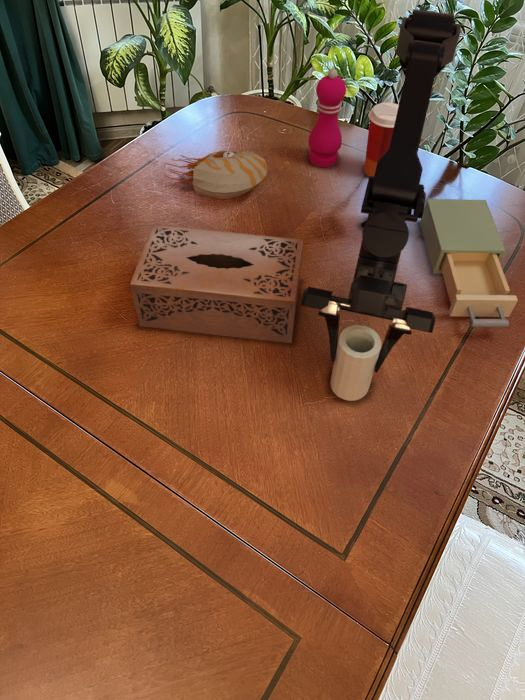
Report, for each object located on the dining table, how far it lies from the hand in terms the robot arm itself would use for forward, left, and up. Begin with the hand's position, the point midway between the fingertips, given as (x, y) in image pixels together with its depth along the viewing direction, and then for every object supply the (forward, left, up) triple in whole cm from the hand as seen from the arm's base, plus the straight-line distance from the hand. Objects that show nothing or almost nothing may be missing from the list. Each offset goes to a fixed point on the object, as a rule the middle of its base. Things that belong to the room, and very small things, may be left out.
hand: (353, 366), depth 84 cm
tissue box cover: (-27, -6, -7) cm, 28 cm away
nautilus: (-56, +11, -7) cm, 57 cm away
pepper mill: (-51, +36, -7) cm, 63 cm away
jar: (-1, +1, -7) cm, 7 cm away
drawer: (-2, +31, -6) cm, 32 cm away
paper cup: (-41, +43, -7) cm, 60 cm away
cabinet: (-14, +39, -7) cm, 42 cm away
